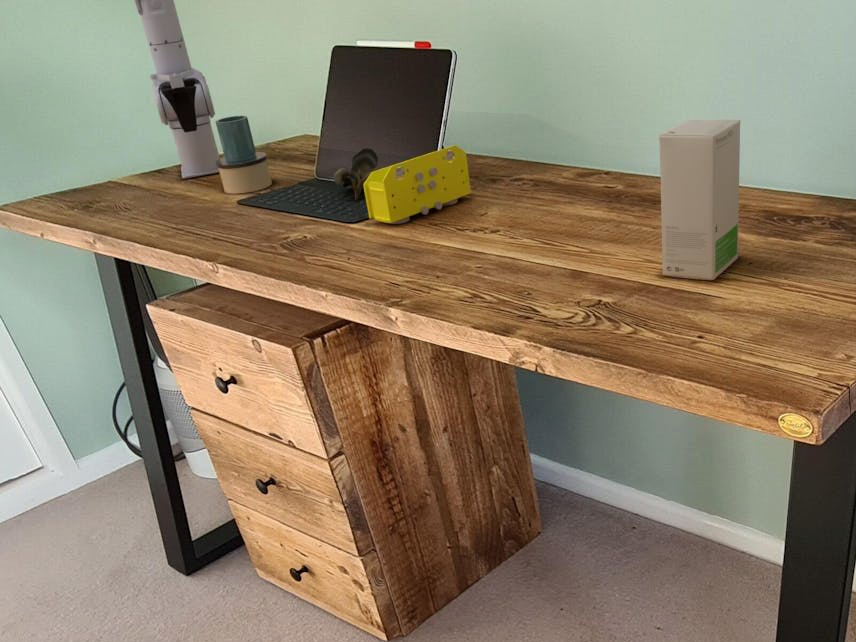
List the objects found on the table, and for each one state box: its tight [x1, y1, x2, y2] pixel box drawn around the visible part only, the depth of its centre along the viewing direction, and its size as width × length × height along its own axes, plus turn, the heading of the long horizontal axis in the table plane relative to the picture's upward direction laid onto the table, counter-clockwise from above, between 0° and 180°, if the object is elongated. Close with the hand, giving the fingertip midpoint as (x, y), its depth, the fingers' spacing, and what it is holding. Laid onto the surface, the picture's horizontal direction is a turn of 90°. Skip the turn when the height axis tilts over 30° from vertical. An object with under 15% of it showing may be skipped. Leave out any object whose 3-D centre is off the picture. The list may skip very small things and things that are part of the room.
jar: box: [216, 151, 273, 195], centre depth 158 cm, size 9×9×5 cm
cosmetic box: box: [658, 119, 741, 281], centre depth 99 cm, size 8×7×16 cm
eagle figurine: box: [333, 147, 379, 201], centre depth 146 cm, size 8×7×9 cm
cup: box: [215, 115, 257, 162], centre depth 155 cm, size 5×5×6 cm
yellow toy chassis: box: [363, 144, 472, 225], centre depth 133 cm, size 16×6×8 cm, turn 137°
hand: (190, 128), depth 156 cm, fingers open, 7 cm apart
